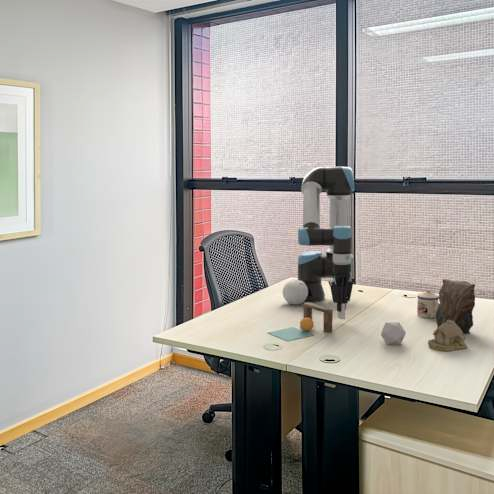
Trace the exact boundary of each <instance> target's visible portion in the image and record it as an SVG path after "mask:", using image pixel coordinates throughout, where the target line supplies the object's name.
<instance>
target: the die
mask: <svg viewBox="0 0 494 494" xmlns="http://www.w3.org/2000/svg"><path fill="white" fill-rule="evenodd" d="M406 333H407V332H406V330H405V329H404V327H403V326H402V324H401V323H400V322H399V321H397V322H396V321H395V322H394V321H392V322H390V321H389V322H388V321H387V322H384V325H383V328H382V329H381V332H380V336H381V337H382V338H383V340H384V342H385V344H386V345H389V346H390V345H391V346H393V345H394V346H395V345H397V346H399V345H400V346H401V345H402V344H403V340H404V339H405V337H406Z"/></svg>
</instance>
